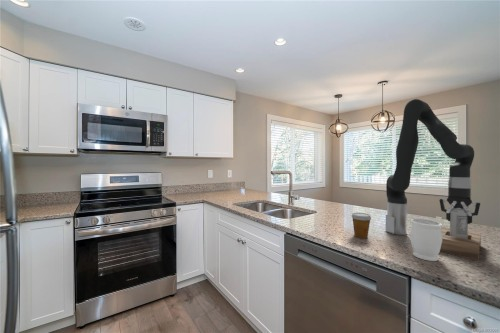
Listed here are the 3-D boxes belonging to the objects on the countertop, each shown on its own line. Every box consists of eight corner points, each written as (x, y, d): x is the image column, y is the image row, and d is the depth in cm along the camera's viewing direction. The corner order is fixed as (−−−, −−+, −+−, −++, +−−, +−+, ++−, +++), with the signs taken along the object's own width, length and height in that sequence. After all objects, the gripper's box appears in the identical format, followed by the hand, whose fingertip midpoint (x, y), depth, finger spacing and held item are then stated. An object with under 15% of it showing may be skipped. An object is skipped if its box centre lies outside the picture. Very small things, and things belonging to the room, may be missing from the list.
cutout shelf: (478, 260, 87) (479, 246, 87) (433, 250, 98) (434, 237, 98) (480, 245, 103) (480, 233, 103) (441, 238, 114) (442, 226, 113)
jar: (403, 252, 95) (404, 218, 95) (425, 251, 96) (425, 218, 96) (425, 263, 85) (426, 225, 84) (449, 262, 85) (449, 225, 85)
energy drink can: (461, 238, 103) (461, 207, 103) (471, 243, 97) (471, 210, 97) (446, 237, 104) (447, 207, 104) (455, 242, 98) (456, 209, 98)
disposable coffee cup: (370, 235, 118) (370, 213, 117) (371, 240, 109) (372, 217, 109) (351, 232, 122) (351, 211, 121) (351, 237, 113) (351, 215, 113)
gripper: (482, 187, 97) (481, 224, 97) (440, 185, 108) (439, 218, 108) (481, 188, 92) (481, 227, 92) (437, 186, 103) (437, 220, 103)
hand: (458, 222), depth 100 cm, fingers closed on energy drink can, 6 cm apart
